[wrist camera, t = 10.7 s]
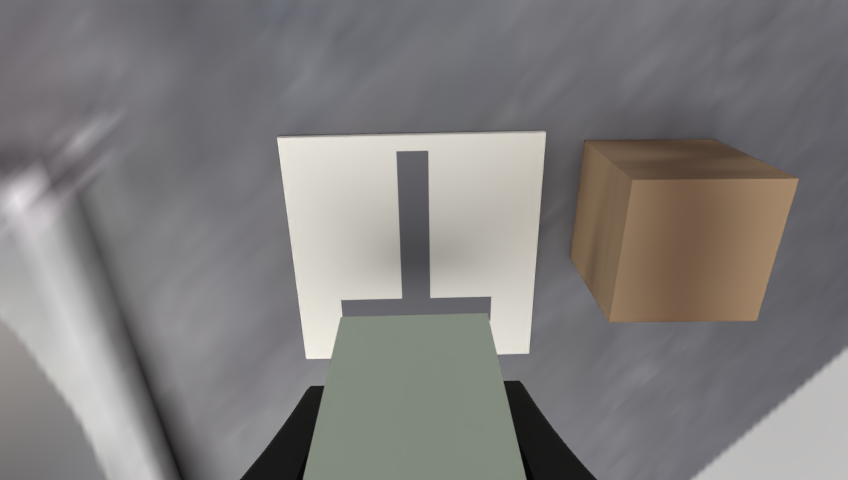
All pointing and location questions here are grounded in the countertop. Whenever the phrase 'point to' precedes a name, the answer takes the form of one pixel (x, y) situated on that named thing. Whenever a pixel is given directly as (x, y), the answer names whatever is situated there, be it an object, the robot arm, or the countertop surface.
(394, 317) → the sage pillar
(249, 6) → the countertop surface
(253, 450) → the countertop surface
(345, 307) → the letter card
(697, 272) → the walnut block
